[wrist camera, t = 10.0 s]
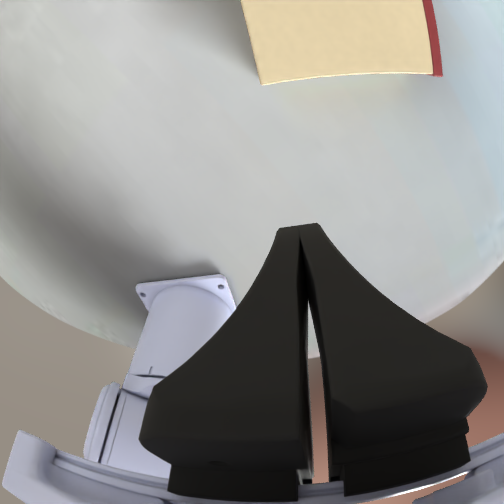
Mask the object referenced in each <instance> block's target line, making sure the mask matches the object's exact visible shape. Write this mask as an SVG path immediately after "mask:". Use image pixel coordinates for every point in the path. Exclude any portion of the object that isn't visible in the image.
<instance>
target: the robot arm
mask: <svg viewBox="0 0 504 504" xmlns="http://www.w3.org/2000/svg"><path fill="white" fill-rule="evenodd" d="M219 284H222V285H223V286H220V285H219ZM135 289H136V292H137V293H138V295H139V297H140V298H141V300H142V302H143V303H144V305H145V307H146V308H147V310H148V312H149V314H148V317H147V319H146V322H145V325H144V328H143V330H142V333H141V336H140V339H139V342H138V344H137V347H136V350H135V353H134V356H133V359H132V362H131V365H130V368H129V371H128V373H127V375H126V377H125V380H124V383H123V386H122V388H121V389H119V387H120V384H118V383H115V382H112V383H111V385H110V384H109V385H106V386H104V387H103V388H102V391H101V393H100V395H99V398H98V401H97V404H96V407H95V409H94V413H93V416H92V419H91V422H90V426H89V430H88V433H87V437H86V441H85V446H84V451H83V455H84V458H81V457H78V456H75V455H72V454H69V453H66V452H64V451H61V450H58V449H56V448H55V447H54V446H52V445H51V444H49V443H48V442H46V441H44V440H42V439H41V438H38V437H37V436H34V435H32V434H29V433H27V432H25V431H22V430H18V433H17V436H16V439H15V442H14V445H13V448H12V451H11V454H10V458H9V460H8V464H7V467H6V471H5V474H4V478H3V482H2V486H3V487H4V488H5V489H7V490H8V491H9V492H10V493H12V494H13V495H15V496H16V497H18V498H19V499H20V500H22V501H23V502H24V503H26V504H357V503H362V502H369V501H374V500H378V499H383V498H388V497H392V496H396V495H400V494H405V493H408V492H412V491H416V490H419V489H422V488H426V487H429V486H432V485H435V484H438V483H441V482H444V481H447V480H449V479H452V478H455V477H458V476H460V475H463V474H465V473H468V472H469V473H468V474H467V475H466V476H465V479H464V480H463V481H461V482H458V483H456V484H453V485H451V486H448V487H445V488H443V489H440V490H437V491H435V492H433V493H431V494H429V495H427V496H424V497H421V498H418V499H415V500H414V501H413V502H412V504H504V433H501V434H499V435H497V436H495V437H493V438H491V439H488V440H486V441H484V442H482V443H479V444H477V445H474V446H472V447H469V448H468V445H467V440H466V436H465V434H467V433H468V432H469V426H468V423H467V419H466V417H467V416H468V415H469V414H470V413H471V412H472V411H473V410H474V409H475V408H476V407H477V405H478V404H479V403H480V402H481V401H482V399H483V398H484V396H485V394H486V392H487V387H488V386H487V383H486V380H485V377H484V375H483V372H482V370H481V367H480V365H479V363H478V361H477V360H476V357H475V356H474V354H473V352H472V350H471V349H470V348H469V347H467V346H465V345H463V344H461V343H459V342H457V341H455V340H453V339H451V338H449V337H448V336H446V335H443V334H441V333H439V332H438V331H436V330H434V329H433V328H431V327H429V326H428V325H426V324H424V323H423V322H421V321H419V320H418V319H416V318H415V317H413V316H412V315H410V314H409V313H407V312H406V311H405V310H403V309H402V308H400V307H399V306H397V305H396V304H394V303H393V302H392V301H391V300H389V299H388V298H387V297H386V296H384V295H383V294H382V293H381V292H380V291H378V290H377V289H376V288H375V287H374V286H372V285H371V284H370V283H369V282H368V281H367V280H366V279H365V278H364V277H363V276H362V275H361V274H360V273H359V272H358V271H357V270H356V269H355V268H354V267H353V266H352V265H351V264H350V263H349V262H348V261H347V260H346V259H345V257H344V256H343V255H342V254H341V253H340V252H339V251H338V249H337V248H336V247H335V246H334V244H333V243H332V242H331V241H330V239H329V238H328V237H327V235H326V234H325V232H324V231H323V229H322V228H321V226H320V225H319V224H318V223H312V224H305V225H298V226H291V227H284V228H279V230H278V231H277V233H276V236H275V239H274V242H273V245H272V247H271V250H270V252H269V254H268V256H267V258H266V260H265V262H264V264H263V267H262V269H261V270H260V272H259V274H258V276H257V277H256V279H255V281H254V283H253V284H252V286H251V288H250V289H249V291H248V292H247V294H246V295H245V297H244V298H243V300H242V301H241V303H240V304H239V305H238V307H237V308H236V305H235V302H234V299H233V296H232V294H231V291H230V288H229V285H228V282H227V280H226V277H225V276H224V275H221V274H215V275H207V276H199V277H191V278H182V279H174V280H165V281H157V282H148V283H139V284H137V286H136V288H135ZM144 293H145V294H144ZM308 301H309V306H310V310H311V315H312V319H313V324H314V329H315V333H316V338H317V343H318V348H319V353H320V359H321V364H322V376H323V387H324V399H325V412H326V428H327V443H328V444H327V446H328V468H329V482H326V483H317V484H312V478H313V477H314V462H313V440H312V421H311V404H310V389H309V375H308Z"/></svg>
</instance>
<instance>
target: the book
mask: <svg viewBox="0 0 504 504" xmlns="http://www.w3.org/2000/svg"><path fill="white" fill-rule="evenodd" d="M240 1H241V5H242V9H243V13H244V17H245V21H246V25H247V29H248V33H249V37H250V41H251V45H252V50H253V54H254V58H255V62H256V67H257V71H258V75H259V80H260V84H261V85H267V84H273V83H280V82H286V81H293V80H301V79H309V78H318V77H328V76H340V75H355V74H380V73H412V74H427V75H431V76H437V77H442V76H443V74H442V63H441V54H440V46H439V38H438V32H437V26H436V20H435V15H434V9H433V5H432V0H240Z"/></svg>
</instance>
